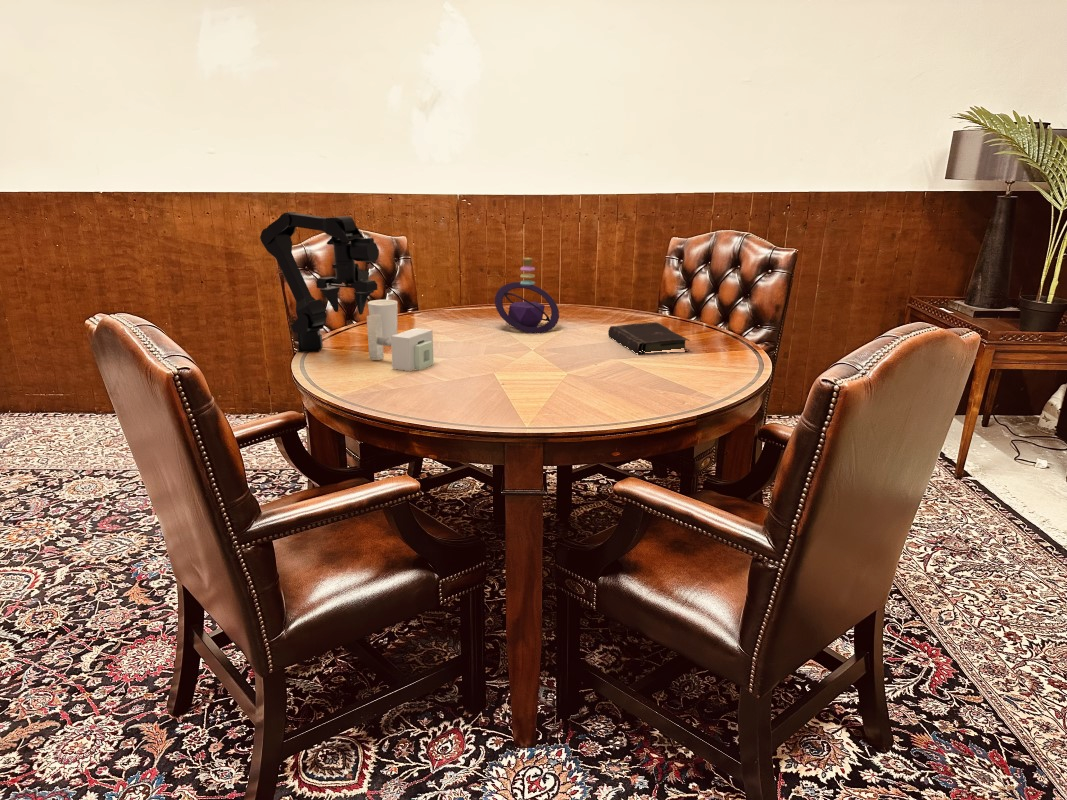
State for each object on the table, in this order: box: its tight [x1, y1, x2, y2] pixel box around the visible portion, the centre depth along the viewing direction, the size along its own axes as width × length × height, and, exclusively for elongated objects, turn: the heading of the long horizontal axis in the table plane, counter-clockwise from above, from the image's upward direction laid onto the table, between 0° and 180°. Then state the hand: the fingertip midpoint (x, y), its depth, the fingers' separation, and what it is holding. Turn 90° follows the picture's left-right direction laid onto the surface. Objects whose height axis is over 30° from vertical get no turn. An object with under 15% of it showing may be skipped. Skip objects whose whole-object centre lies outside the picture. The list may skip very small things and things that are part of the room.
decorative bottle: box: [494, 257, 560, 334], centre depth 255 cm, size 22×21×25 cm
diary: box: [607, 322, 690, 354], centre depth 237 cm, size 19×25×5 cm
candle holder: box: [367, 299, 398, 338], centre depth 242 cm, size 10×10×12 cm
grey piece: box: [366, 314, 391, 361], centre depth 211 cm, size 15×3×13 cm, turn 64°
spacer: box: [414, 340, 435, 371], centre depth 207 cm, size 2×7×7 cm, turn 154°
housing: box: [390, 327, 435, 372], centre depth 208 cm, size 6×12×10 cm, turn 154°
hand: (348, 313), depth 216 cm, fingers open, 9 cm apart
